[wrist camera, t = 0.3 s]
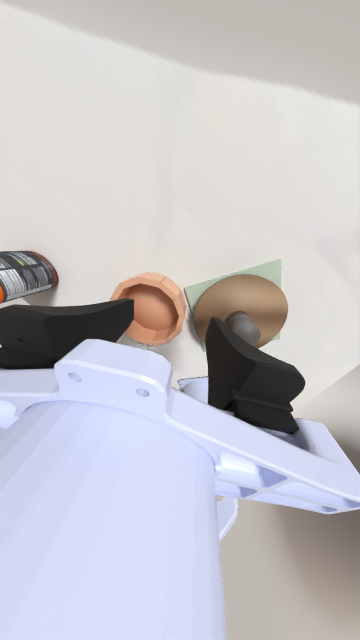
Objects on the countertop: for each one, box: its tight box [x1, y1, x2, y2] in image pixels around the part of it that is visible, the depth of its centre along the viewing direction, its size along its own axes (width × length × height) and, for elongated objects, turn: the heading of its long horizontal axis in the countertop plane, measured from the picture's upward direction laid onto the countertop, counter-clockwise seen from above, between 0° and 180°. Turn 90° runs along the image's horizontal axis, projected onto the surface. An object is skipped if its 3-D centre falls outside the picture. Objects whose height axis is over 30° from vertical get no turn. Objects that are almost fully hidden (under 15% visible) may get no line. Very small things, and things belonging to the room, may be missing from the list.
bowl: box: [110, 272, 186, 346], centre depth 21 cm, size 11×11×4 cm
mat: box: [185, 259, 281, 352], centre depth 21 cm, size 13×13×1 cm
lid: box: [194, 274, 288, 349], centre depth 19 cm, size 13×13×6 cm
